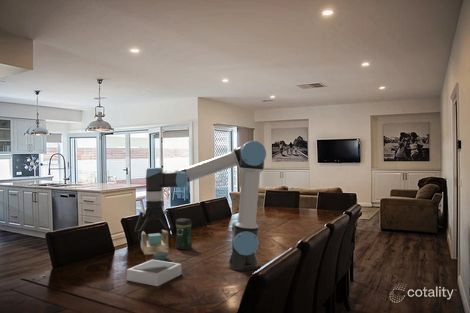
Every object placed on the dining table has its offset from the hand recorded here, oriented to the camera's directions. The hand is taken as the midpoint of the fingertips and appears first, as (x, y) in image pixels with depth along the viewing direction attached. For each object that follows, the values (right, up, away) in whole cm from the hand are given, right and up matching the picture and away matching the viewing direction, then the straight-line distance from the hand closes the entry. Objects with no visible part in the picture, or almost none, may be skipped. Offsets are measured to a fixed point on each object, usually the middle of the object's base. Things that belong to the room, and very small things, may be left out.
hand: (154, 246), depth 170 cm
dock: (0, -15, 0) cm, 15 cm away
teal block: (0, +1, 0) cm, 1 cm away
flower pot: (-4, -15, +30) cm, 34 cm away
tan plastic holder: (0, -2, 0) cm, 2 cm away
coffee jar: (+6, -15, +54) cm, 56 cm away
